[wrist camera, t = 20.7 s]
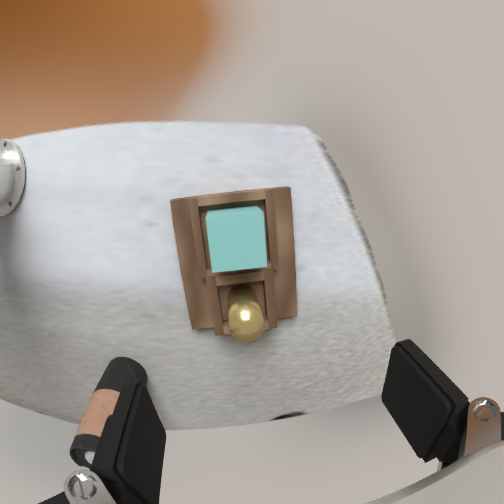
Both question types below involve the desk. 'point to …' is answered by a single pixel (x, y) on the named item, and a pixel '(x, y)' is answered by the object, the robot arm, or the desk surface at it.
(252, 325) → the peg
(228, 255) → the block
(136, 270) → the desk surface
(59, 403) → the desk surface
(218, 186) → the desk surface
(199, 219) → the organizer
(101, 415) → the travel mug
